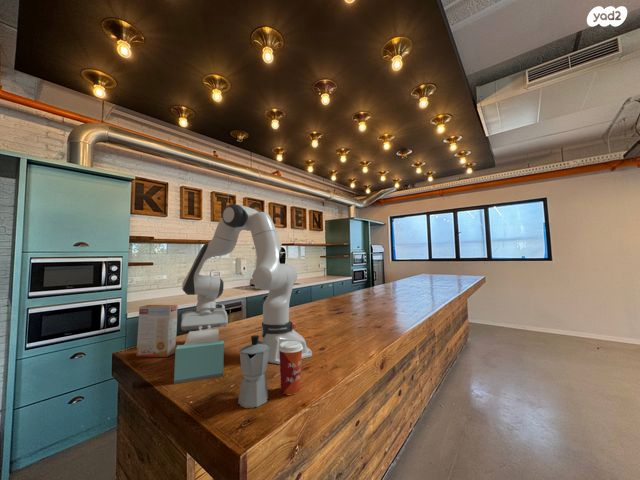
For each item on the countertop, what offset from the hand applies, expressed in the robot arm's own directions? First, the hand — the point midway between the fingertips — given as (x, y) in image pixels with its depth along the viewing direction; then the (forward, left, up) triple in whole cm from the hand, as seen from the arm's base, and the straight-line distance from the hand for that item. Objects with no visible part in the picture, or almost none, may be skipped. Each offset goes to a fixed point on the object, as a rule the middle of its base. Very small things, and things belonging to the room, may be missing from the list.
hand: (204, 335), depth 114 cm
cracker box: (+19, -1, -6) cm, 20 cm away
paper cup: (-26, +51, -6) cm, 57 cm away
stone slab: (0, +12, -1) cm, 12 cm away
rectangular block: (0, +12, -6) cm, 14 cm away
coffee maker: (-15, +51, -6) cm, 53 cm away
